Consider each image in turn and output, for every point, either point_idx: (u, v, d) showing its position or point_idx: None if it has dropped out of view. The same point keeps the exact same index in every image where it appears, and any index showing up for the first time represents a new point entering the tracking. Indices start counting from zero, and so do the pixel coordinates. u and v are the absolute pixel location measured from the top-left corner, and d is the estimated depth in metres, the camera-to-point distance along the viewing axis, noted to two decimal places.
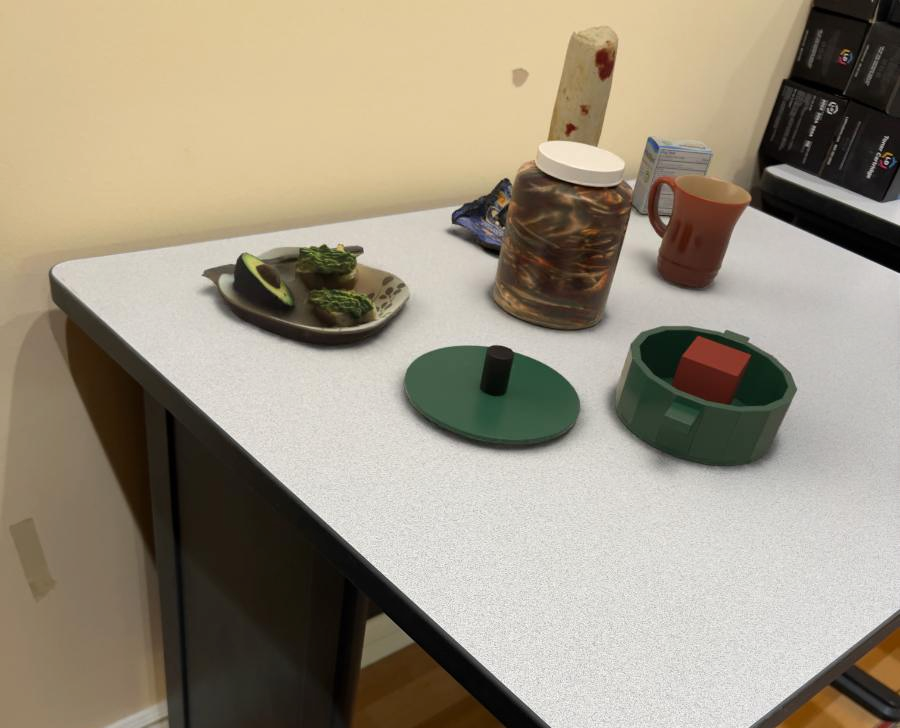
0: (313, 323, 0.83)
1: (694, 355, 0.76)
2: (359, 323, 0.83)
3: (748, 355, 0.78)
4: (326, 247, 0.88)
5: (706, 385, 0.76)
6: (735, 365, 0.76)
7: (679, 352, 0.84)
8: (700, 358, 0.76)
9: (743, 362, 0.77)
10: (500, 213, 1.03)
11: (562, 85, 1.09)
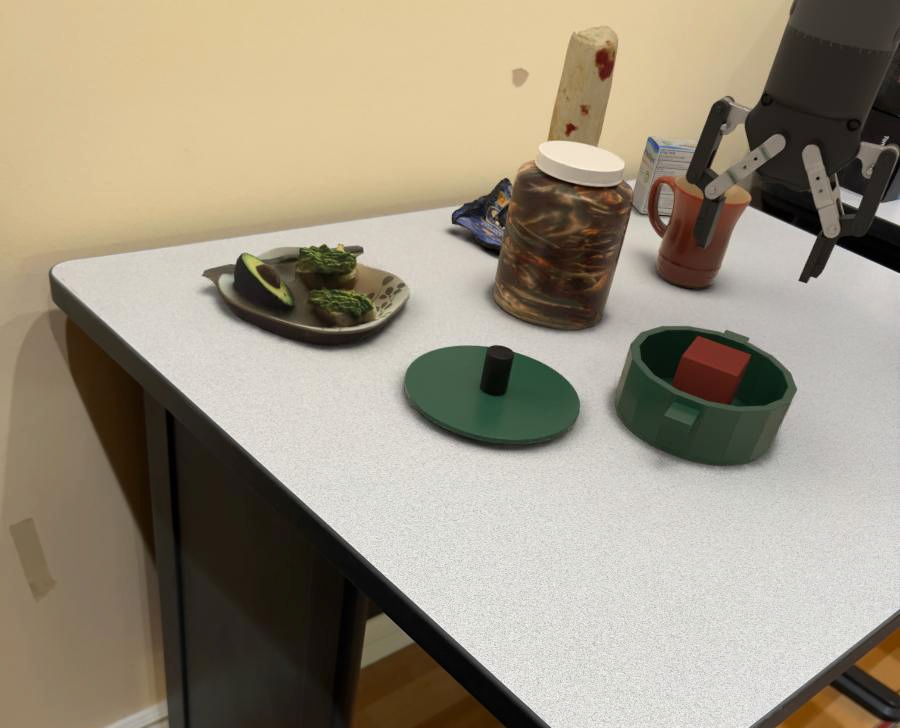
0: (313, 323, 0.83)
1: (694, 355, 0.76)
2: (359, 323, 0.83)
3: (748, 355, 0.78)
4: (326, 247, 0.88)
5: (706, 385, 0.76)
6: (735, 365, 0.76)
7: (679, 352, 0.84)
8: (700, 358, 0.76)
9: (743, 362, 0.77)
10: (500, 213, 1.03)
11: (562, 85, 1.09)
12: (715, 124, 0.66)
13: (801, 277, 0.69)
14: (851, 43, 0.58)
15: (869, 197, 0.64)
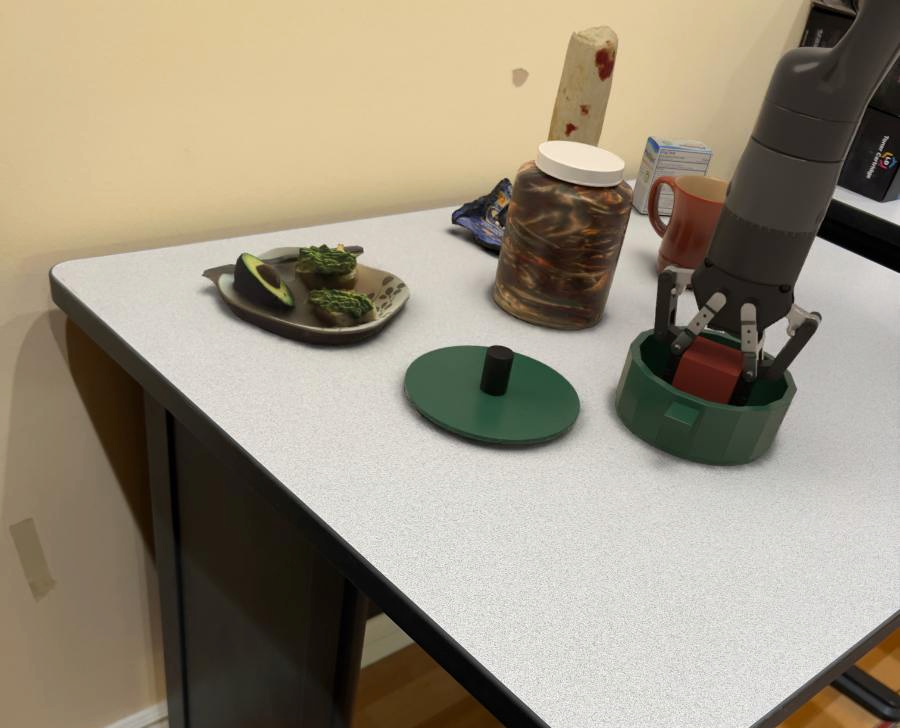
0: (313, 323, 0.83)
1: (694, 355, 0.76)
2: (359, 323, 0.83)
3: None
4: (326, 247, 0.88)
5: (706, 385, 0.76)
6: (735, 365, 0.76)
7: None
8: (700, 358, 0.76)
9: None
10: (500, 213, 1.03)
11: (562, 85, 1.09)
12: (666, 290, 0.75)
13: None
14: (777, 227, 0.66)
15: (787, 353, 0.73)
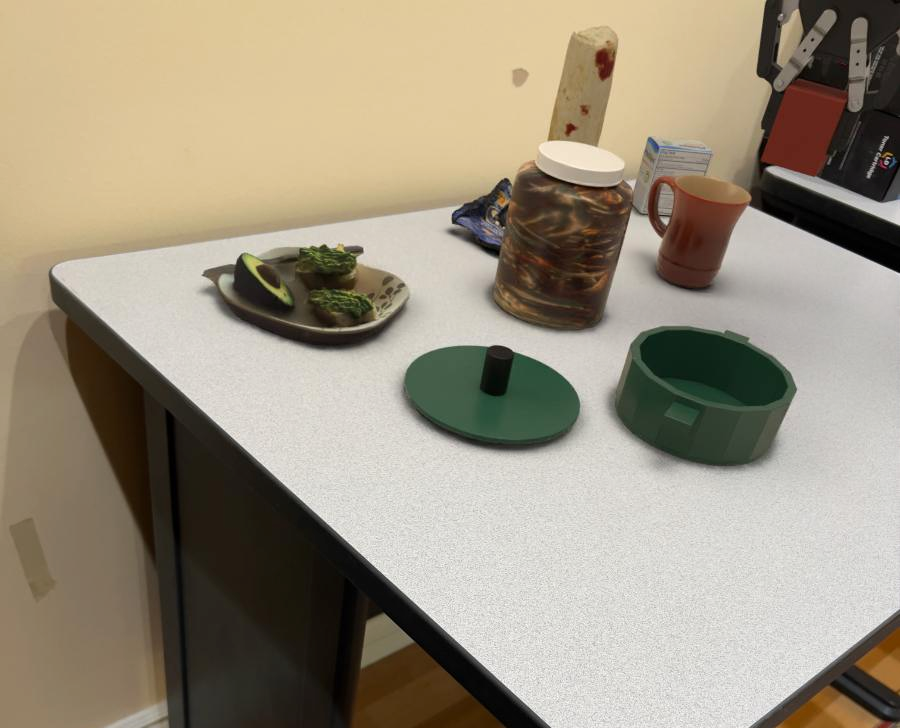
0: (313, 323, 0.83)
1: (799, 87, 0.76)
2: (359, 323, 0.83)
3: None
4: (326, 247, 0.88)
5: (811, 117, 0.76)
6: (840, 97, 0.76)
7: (679, 352, 0.84)
8: (805, 90, 0.76)
9: (847, 96, 0.76)
10: (500, 213, 1.03)
11: (562, 85, 1.09)
12: (772, 17, 0.75)
13: (827, 151, 0.78)
14: None
15: (896, 73, 0.73)
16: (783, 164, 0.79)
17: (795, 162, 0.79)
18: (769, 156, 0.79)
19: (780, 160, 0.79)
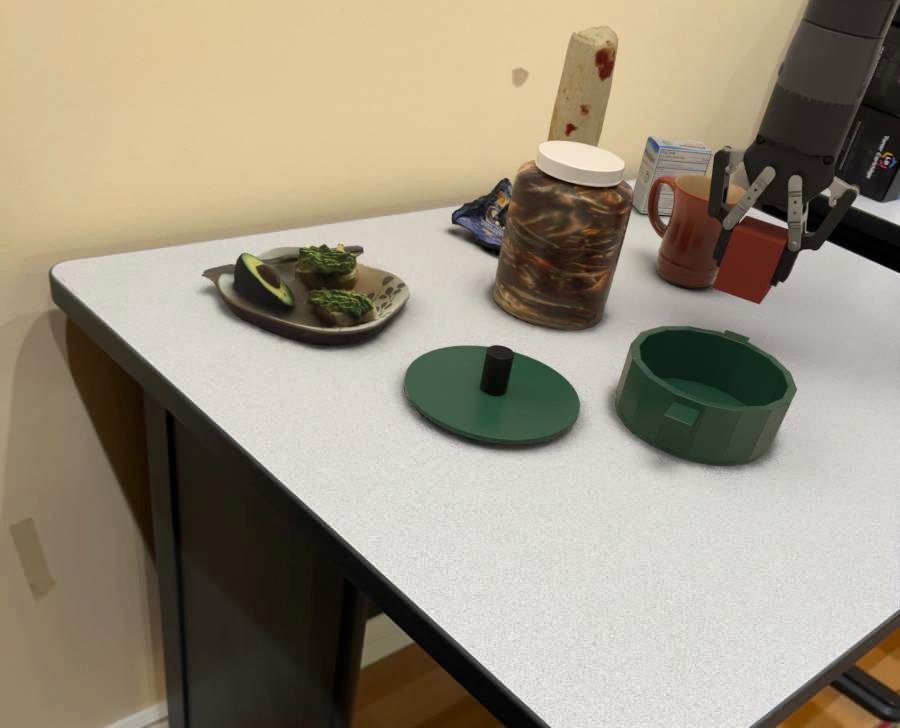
0: (313, 323, 0.83)
1: (745, 228, 0.86)
2: (359, 323, 0.83)
3: None
4: (326, 247, 0.88)
5: (755, 255, 0.86)
6: (781, 237, 0.85)
7: (679, 352, 0.84)
8: (750, 230, 0.85)
9: (787, 235, 0.86)
10: (500, 213, 1.03)
11: (562, 85, 1.09)
12: (720, 168, 0.84)
13: (771, 282, 0.88)
14: (825, 99, 0.75)
15: (828, 222, 0.82)
16: (732, 292, 0.89)
17: (742, 291, 0.88)
18: (719, 284, 0.89)
19: (729, 288, 0.88)
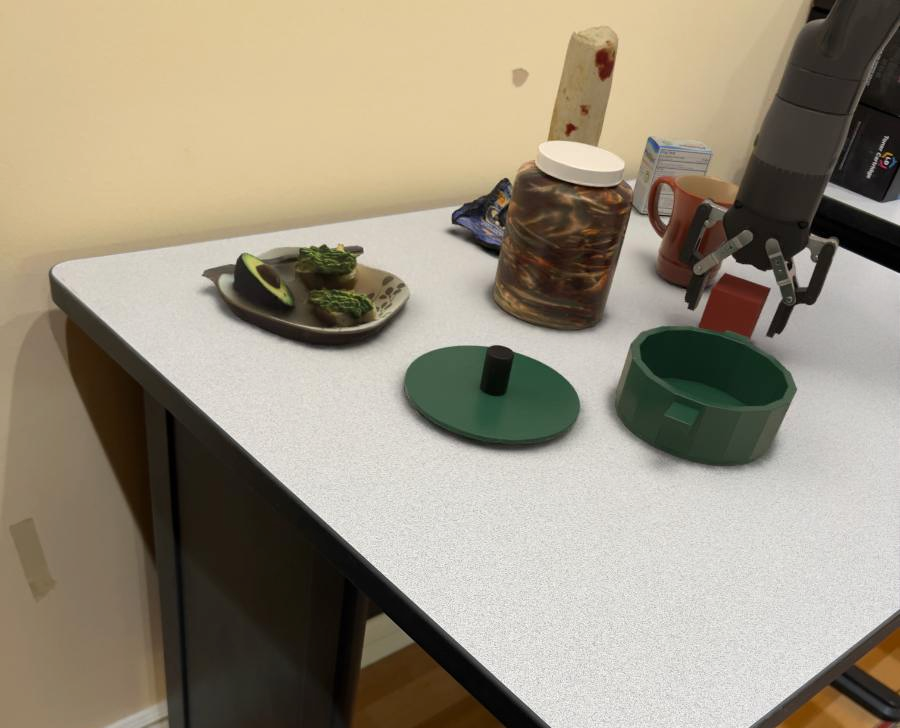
0: (313, 323, 0.83)
1: (723, 287, 0.90)
2: (359, 323, 0.83)
3: (768, 288, 0.91)
4: (326, 247, 0.88)
5: (733, 312, 0.90)
6: (758, 296, 0.89)
7: (679, 352, 0.84)
8: (728, 289, 0.89)
9: (764, 293, 0.90)
10: (500, 213, 1.03)
11: (562, 85, 1.09)
12: (700, 220, 0.87)
13: (767, 333, 0.90)
14: (798, 171, 0.79)
15: (816, 276, 0.85)
16: None
17: None
18: None
19: None
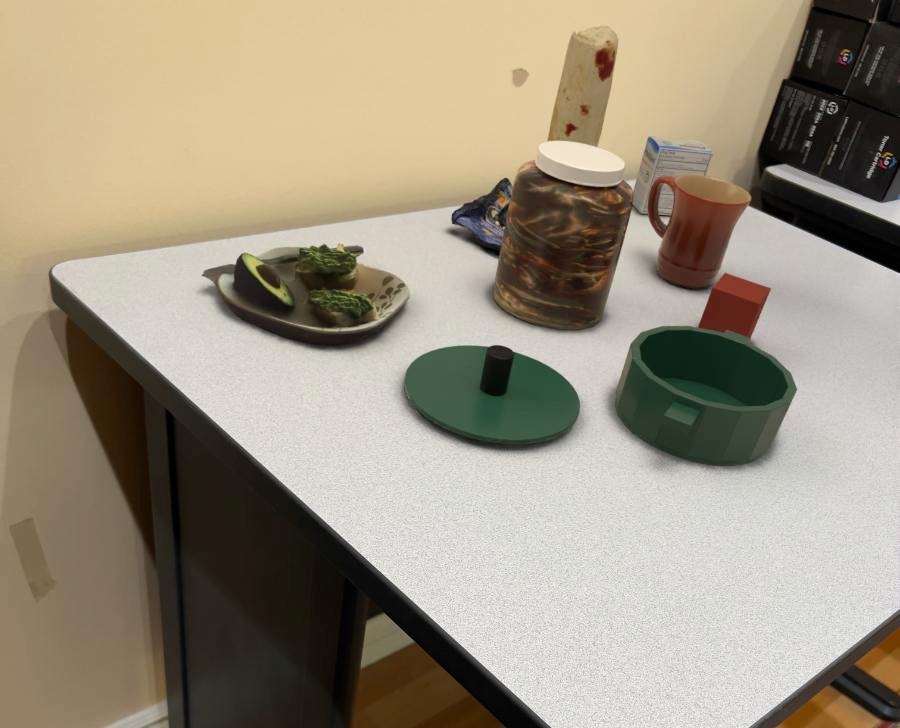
0: (313, 323, 0.83)
1: (723, 287, 0.90)
2: (359, 323, 0.83)
3: (768, 288, 0.91)
4: (326, 247, 0.88)
5: (733, 312, 0.90)
6: (758, 296, 0.89)
7: (679, 352, 0.84)
8: (728, 289, 0.89)
9: (764, 293, 0.90)
10: (500, 213, 1.03)
11: (562, 85, 1.09)
12: None
13: None
14: None
15: None
16: None
17: None
18: None
19: None
